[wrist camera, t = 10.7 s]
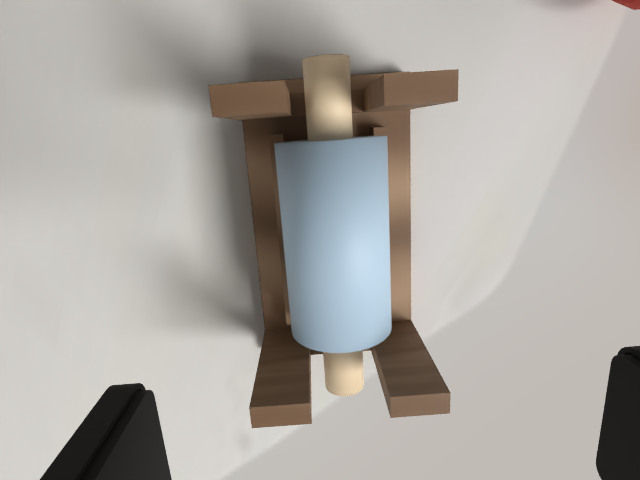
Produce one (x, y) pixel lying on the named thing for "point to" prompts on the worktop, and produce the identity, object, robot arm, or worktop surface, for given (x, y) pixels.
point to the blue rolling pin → (335, 228)
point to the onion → (629, 3)
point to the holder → (279, 344)
